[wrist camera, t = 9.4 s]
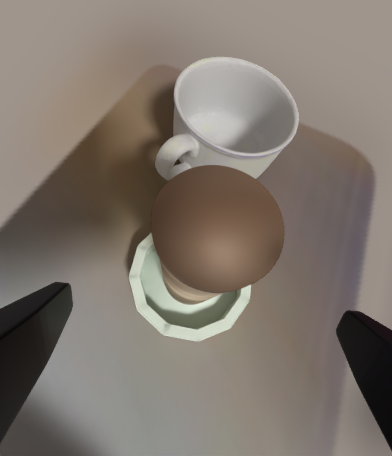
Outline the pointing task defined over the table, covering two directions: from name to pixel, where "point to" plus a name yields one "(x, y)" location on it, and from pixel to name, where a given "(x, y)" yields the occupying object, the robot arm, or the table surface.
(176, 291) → the canister
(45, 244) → the table surface
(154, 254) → the bowl
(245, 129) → the teacup
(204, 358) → the table surface
